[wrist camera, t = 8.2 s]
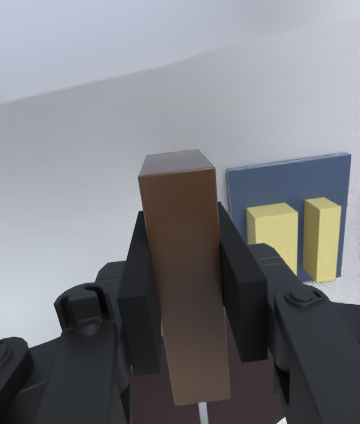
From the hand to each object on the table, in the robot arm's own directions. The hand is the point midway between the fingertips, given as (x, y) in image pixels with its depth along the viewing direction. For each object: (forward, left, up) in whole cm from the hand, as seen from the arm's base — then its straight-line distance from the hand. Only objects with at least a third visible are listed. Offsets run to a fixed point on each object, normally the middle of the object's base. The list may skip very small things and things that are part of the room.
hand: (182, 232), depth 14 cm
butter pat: (+9, +14, -14) cm, 21 cm away
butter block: (+9, +9, -14) cm, 19 cm away
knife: (+6, 0, 0) cm, 6 cm away
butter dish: (+8, +11, -15) cm, 20 cm away
